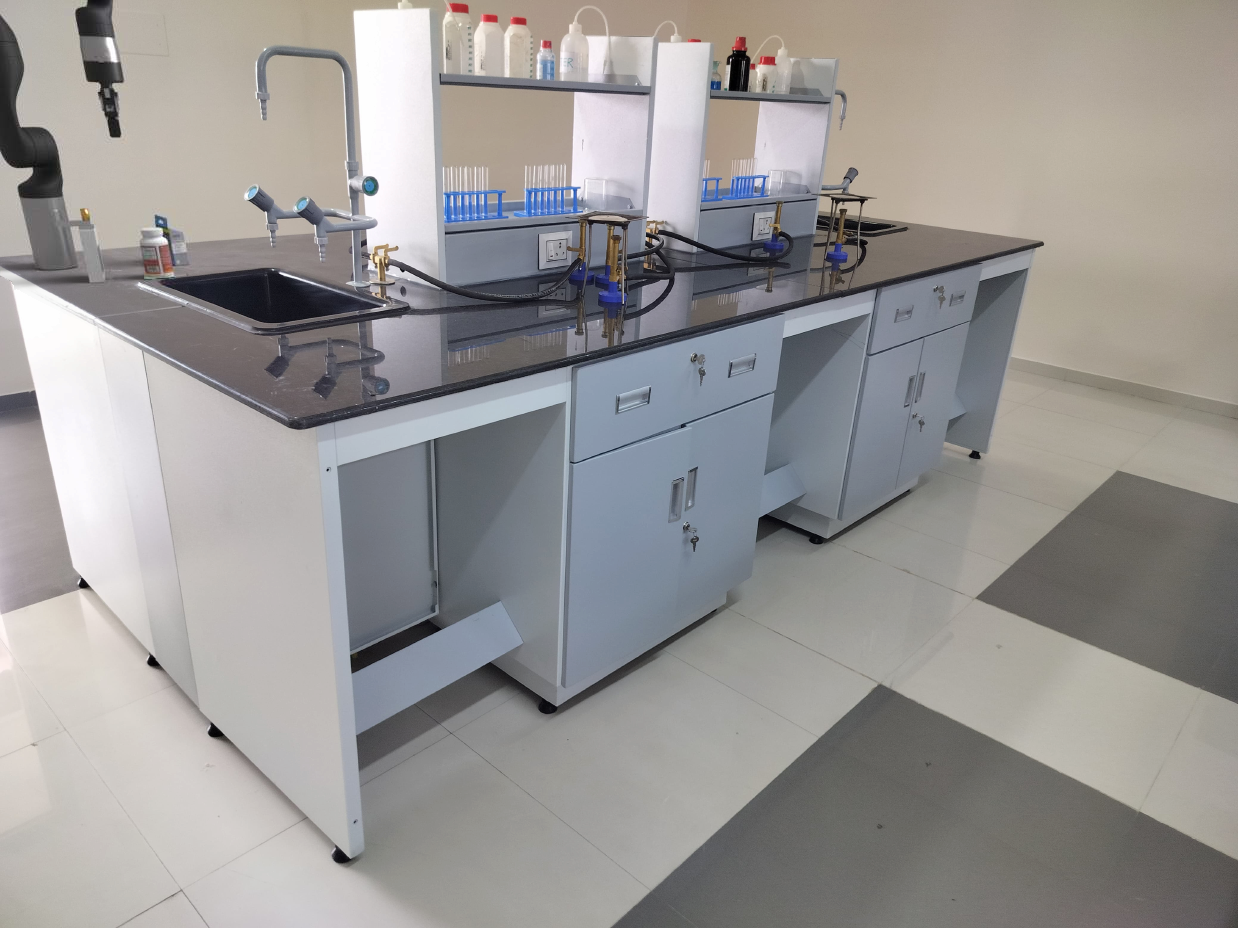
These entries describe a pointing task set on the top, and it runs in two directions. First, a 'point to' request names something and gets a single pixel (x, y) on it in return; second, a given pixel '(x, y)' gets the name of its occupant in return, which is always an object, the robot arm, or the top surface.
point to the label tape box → (174, 242)
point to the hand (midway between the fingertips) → (116, 136)
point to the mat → (156, 277)
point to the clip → (83, 222)
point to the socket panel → (92, 253)
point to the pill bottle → (155, 253)
